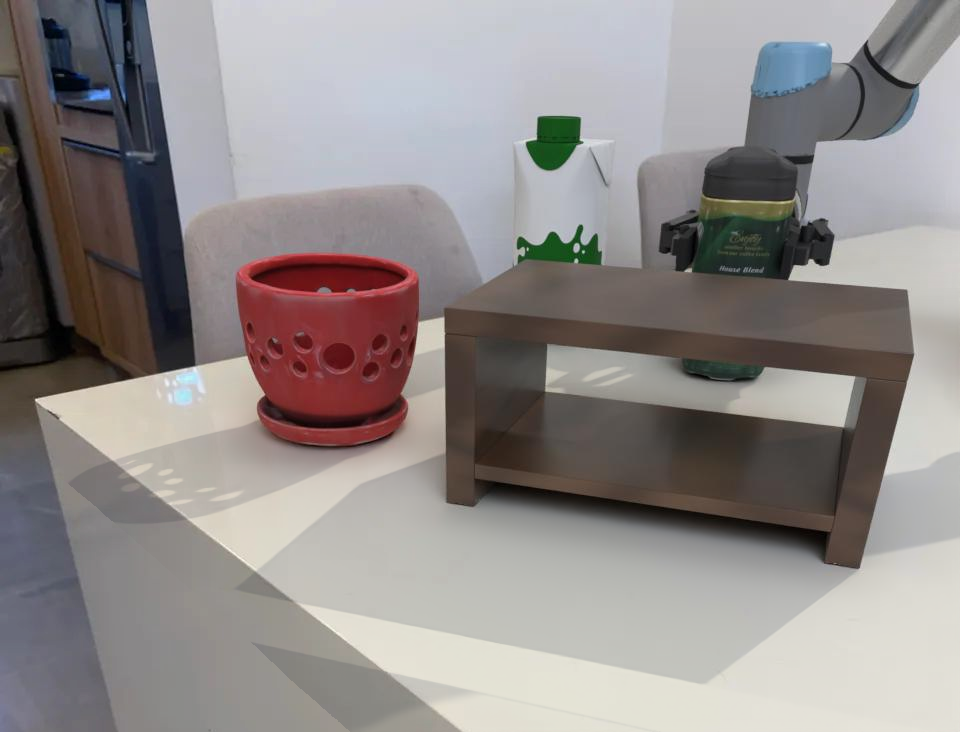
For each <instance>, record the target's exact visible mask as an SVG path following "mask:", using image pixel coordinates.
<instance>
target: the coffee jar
mask: <svg viewBox="0 0 960 732" xmlns="http://www.w3.org/2000/svg"><path fill="white" fill-rule="evenodd" d="M703 174H704V176H703V181H702V186H701V194H700V203H699V209H698V210H699V211H698V212H699V218H698V226H697V233H696V241H695V249H694V256H693V262H692V264H691V265H692V266H691V272H692V273H705V274H718V275H730V276H743V277H755V278H768V279H779V276H780V270H781V264H782V258H783V252H784V247H785V244H786V242H787V240H788V238H789V232H790V226H791V219H792V213H793V206H794V201H795V198H794V197H795V194H796V185H797V176H798V168H797V167H796V166H795V165H794V164H793V163H792V162H791V161H789V160H787V159H786V158H784V157H782V156H780V155H779V154H777V152H776V150H774V149H770V148H766V147H759V146H744V145H743V146H742V145H741V146H733V147H729V148H728V149H727V150H726V151H725V152H723V153H720V154H718V155H716V156H714V157H713V158H711V159H710V160H709V161H708V162H707V164H706V166H705V167H704V173H703ZM680 362H681V365H682V367H683V369H684V370H685V371H686V372H687V373H689V374H697V375H701V376H705V377H708V378H709V379H711V380H719V381H734V380H736V379H743V378H751V379H752V378H757V377H759V376H760V375H761V374H762V373H763V372H764V370H765V367H761V366H751V365H742V364H733V363H723V362H714V361H704V360H695V359H685V358H680Z"/></svg>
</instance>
